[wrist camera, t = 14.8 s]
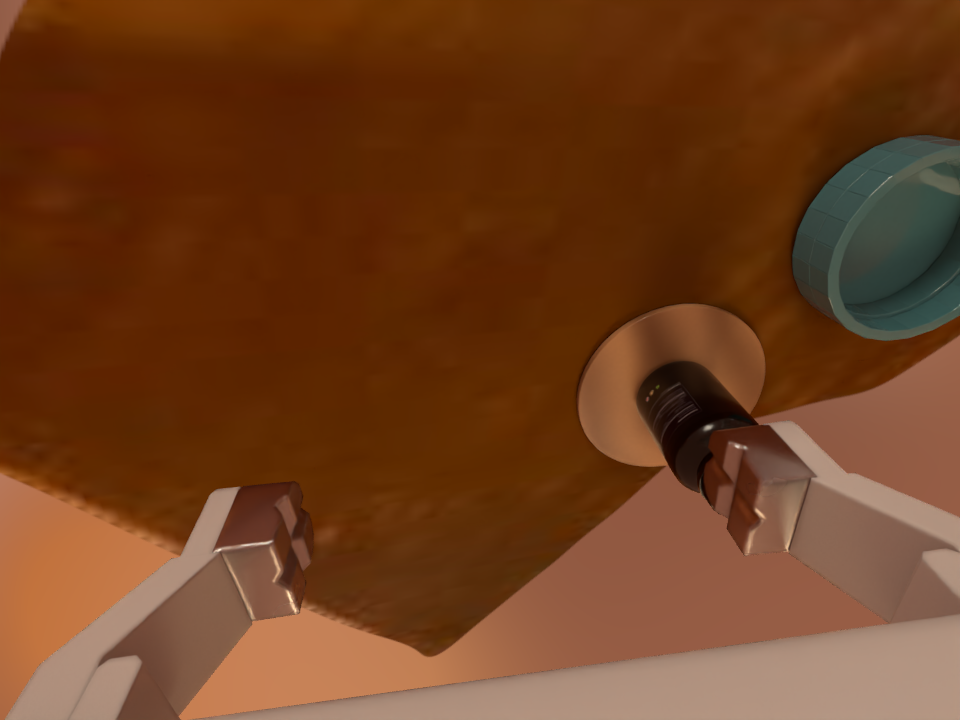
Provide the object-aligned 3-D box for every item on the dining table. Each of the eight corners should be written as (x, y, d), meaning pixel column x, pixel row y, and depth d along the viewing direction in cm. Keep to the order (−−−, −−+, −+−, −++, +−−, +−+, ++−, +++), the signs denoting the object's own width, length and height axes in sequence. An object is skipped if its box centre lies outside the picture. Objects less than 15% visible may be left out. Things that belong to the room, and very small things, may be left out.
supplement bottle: (729, 375, 45) (821, 472, 35) (679, 435, 48) (750, 541, 38) (665, 344, 43) (742, 437, 33) (617, 409, 46) (674, 514, 36)
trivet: (721, 264, 41) (725, 266, 40) (786, 403, 48) (790, 406, 48) (541, 375, 44) (542, 379, 44) (627, 489, 52) (629, 493, 51)
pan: (956, 91, 36) (1020, 96, 32) (984, 251, 42) (1041, 271, 38) (765, 211, 39) (803, 229, 35) (818, 344, 45) (855, 372, 41)
